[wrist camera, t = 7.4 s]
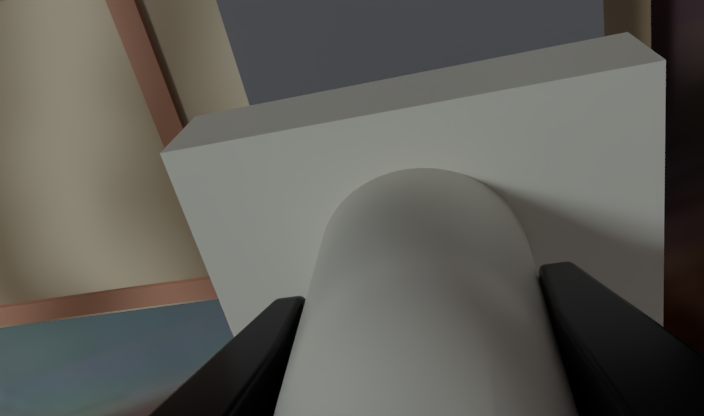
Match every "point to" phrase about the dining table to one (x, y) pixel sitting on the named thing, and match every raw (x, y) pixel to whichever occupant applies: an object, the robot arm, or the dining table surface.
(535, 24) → the ink pad
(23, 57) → the stamping board
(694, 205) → the dining table surface
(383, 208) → the hand stamp
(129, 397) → the dining table surface
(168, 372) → the dining table surface
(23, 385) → the dining table surface
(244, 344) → the robot arm
